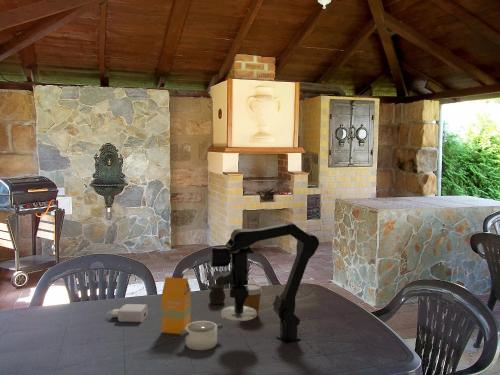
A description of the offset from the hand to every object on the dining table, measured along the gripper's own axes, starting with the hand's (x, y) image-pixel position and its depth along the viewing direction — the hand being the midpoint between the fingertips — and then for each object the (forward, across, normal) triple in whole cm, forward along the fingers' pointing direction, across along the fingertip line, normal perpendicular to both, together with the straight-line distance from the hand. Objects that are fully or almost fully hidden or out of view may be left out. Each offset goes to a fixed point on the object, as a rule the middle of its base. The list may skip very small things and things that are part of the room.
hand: (238, 309), depth 160 cm
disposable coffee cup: (+12, -28, +5) cm, 31 cm away
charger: (+13, -24, -45) cm, 53 cm away
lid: (+2, 0, 0) cm, 2 cm away
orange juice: (+13, -12, -24) cm, 29 cm away
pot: (+12, 0, -13) cm, 18 cm away
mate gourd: (+12, -42, -10) cm, 45 cm away
